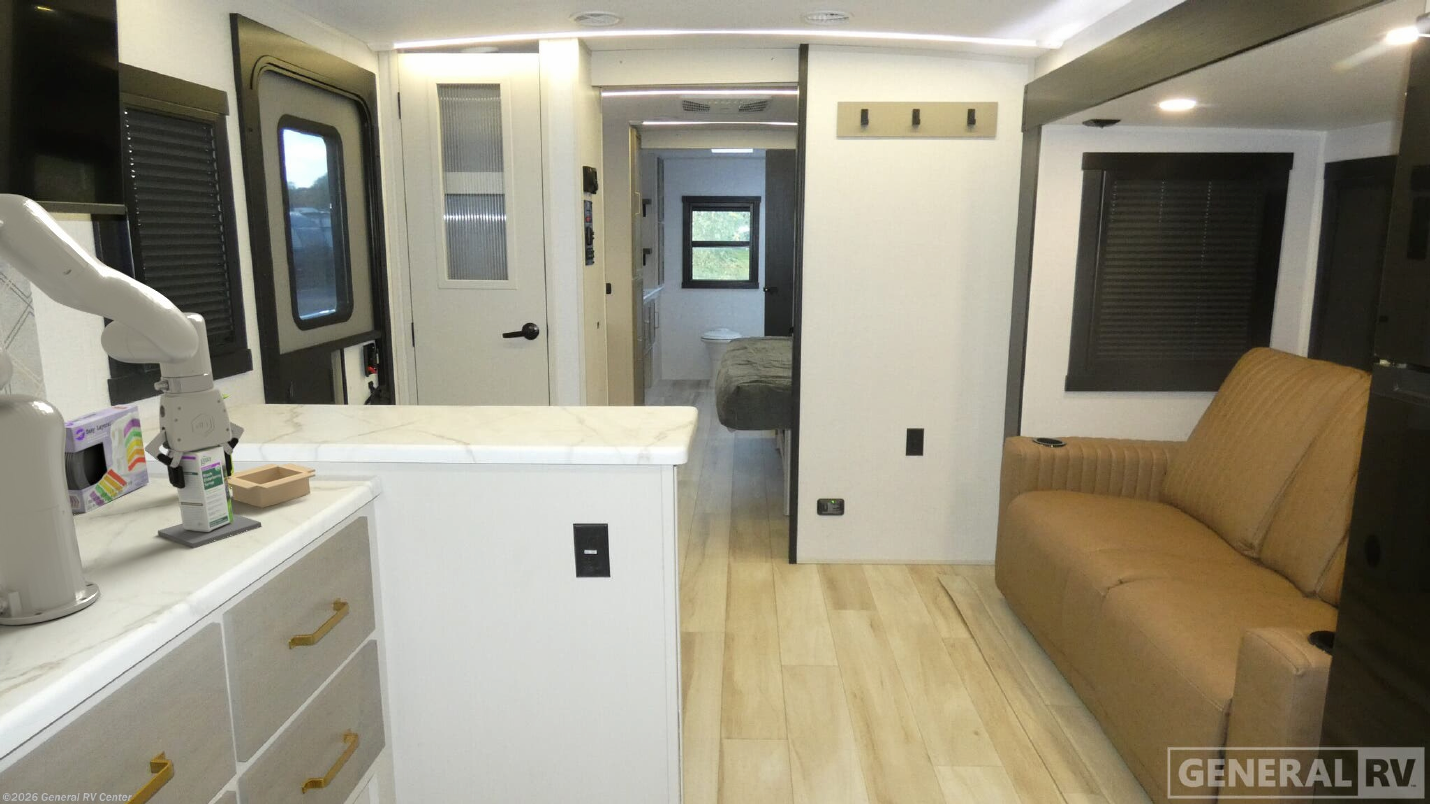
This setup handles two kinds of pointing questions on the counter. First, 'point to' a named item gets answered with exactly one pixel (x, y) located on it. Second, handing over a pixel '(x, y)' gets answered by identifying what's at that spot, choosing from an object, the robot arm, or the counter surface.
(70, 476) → the cake pan box
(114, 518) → the counter surface
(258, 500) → the carton
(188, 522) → the syrup box
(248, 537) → the counter surface
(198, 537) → the mat
